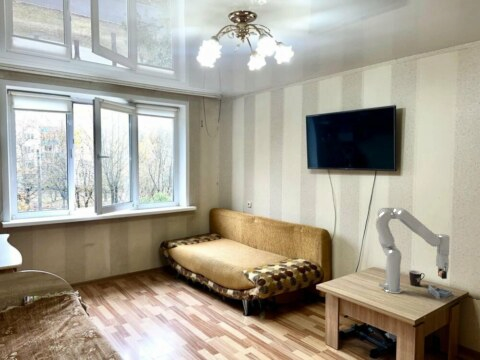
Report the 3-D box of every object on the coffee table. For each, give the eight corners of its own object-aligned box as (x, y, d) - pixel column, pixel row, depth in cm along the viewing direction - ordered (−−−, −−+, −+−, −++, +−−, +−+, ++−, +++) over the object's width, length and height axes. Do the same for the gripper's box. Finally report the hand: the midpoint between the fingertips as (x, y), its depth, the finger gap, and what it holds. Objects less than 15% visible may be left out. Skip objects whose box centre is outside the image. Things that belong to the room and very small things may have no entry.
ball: (440, 278, 242) (440, 271, 241) (437, 276, 247) (437, 269, 246) (447, 279, 241) (448, 272, 241) (444, 276, 246) (444, 269, 246)
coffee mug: (410, 286, 259) (410, 273, 258) (407, 282, 267) (407, 269, 267) (427, 287, 256) (427, 274, 256) (423, 283, 265) (424, 271, 264)
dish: (445, 297, 238) (445, 294, 238) (431, 293, 246) (431, 290, 245) (451, 294, 244) (451, 291, 243) (437, 290, 251) (437, 287, 251)
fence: (436, 299, 235) (436, 293, 235) (427, 290, 251) (427, 285, 250) (440, 299, 235) (440, 293, 235) (431, 290, 250) (431, 285, 250)
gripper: (432, 248, 252) (431, 273, 253) (442, 255, 235) (442, 281, 236) (443, 249, 251) (442, 273, 252) (454, 255, 234) (453, 281, 235)
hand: (442, 277), depth 244 cm, fingers closed on ball, 4 cm apart
